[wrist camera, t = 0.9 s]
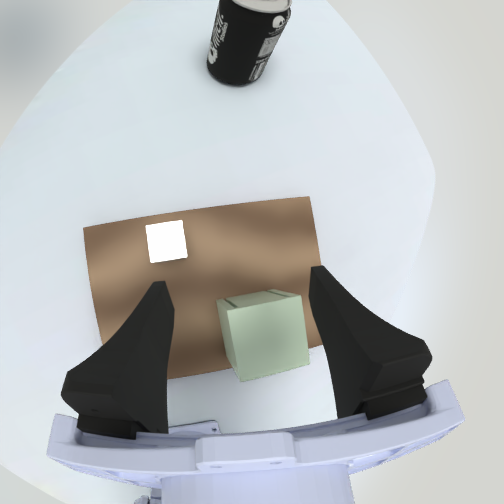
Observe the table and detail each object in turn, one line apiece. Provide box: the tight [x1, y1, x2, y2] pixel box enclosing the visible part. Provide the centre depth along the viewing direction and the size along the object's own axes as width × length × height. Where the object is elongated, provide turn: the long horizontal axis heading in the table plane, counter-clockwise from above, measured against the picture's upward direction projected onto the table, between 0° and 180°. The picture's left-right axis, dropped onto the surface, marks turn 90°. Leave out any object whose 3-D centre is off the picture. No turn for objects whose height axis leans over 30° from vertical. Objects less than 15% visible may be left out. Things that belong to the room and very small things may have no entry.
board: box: [83, 196, 323, 379], centre depth 26 cm, size 15×22×1 cm
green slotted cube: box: [216, 289, 310, 382], centre depth 23 cm, size 5×5×7 cm
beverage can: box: [207, 0, 292, 84], centre depth 23 cm, size 7×7×12 cm
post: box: [146, 220, 187, 264], centre depth 22 cm, size 3×3×6 cm
